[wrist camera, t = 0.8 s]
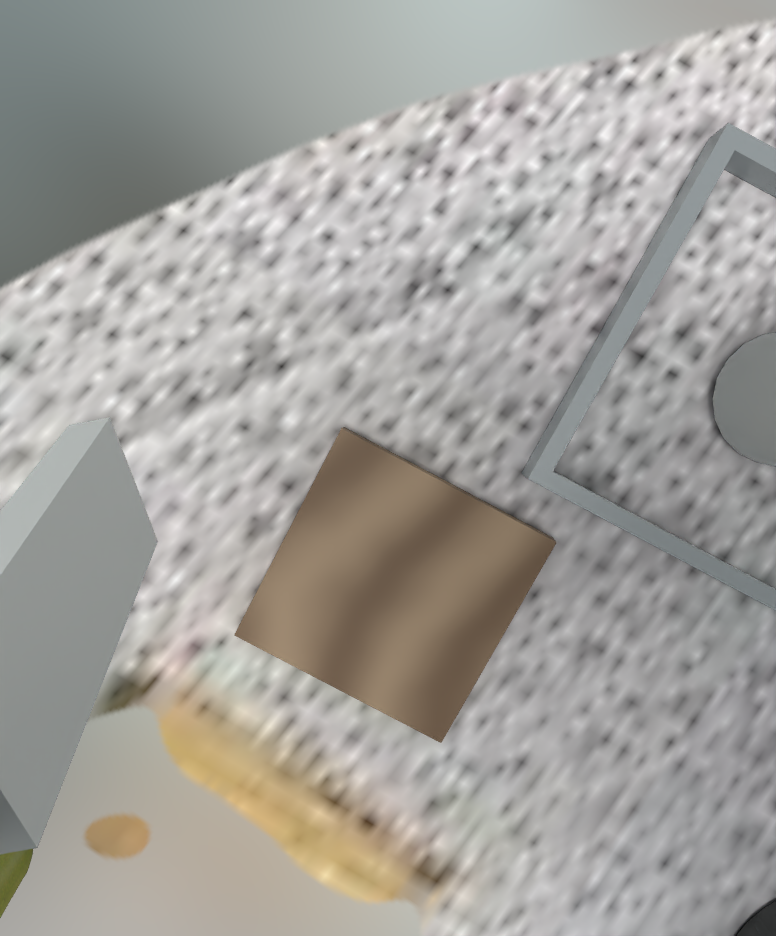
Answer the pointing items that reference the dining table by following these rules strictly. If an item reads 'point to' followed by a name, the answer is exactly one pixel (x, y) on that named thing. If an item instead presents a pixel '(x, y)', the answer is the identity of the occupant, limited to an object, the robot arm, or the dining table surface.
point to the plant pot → (12, 874)
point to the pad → (394, 585)
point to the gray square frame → (720, 153)
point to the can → (749, 400)
